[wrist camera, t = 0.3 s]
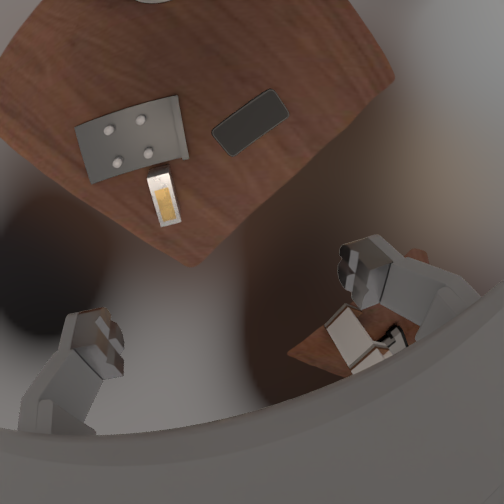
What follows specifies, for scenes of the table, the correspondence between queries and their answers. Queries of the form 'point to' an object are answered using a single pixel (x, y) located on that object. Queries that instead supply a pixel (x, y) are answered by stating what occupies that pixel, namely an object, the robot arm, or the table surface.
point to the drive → (164, 195)
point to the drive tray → (132, 139)
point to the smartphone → (250, 122)
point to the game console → (395, 340)
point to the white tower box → (355, 340)
